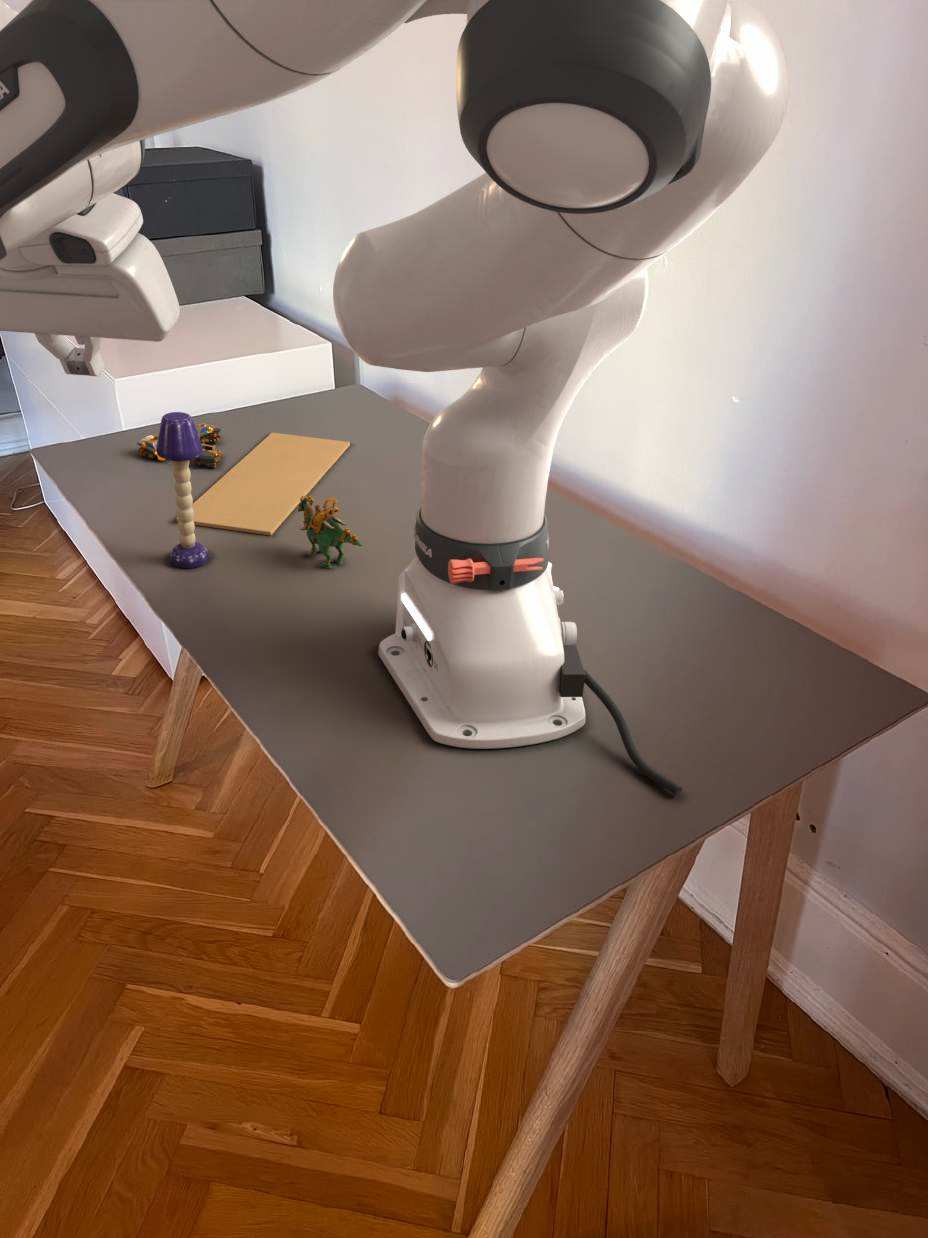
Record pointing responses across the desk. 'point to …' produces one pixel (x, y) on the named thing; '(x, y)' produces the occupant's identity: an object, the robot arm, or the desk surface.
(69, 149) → the robot arm
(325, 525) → the figurine
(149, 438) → the toy set
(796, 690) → the desk surface
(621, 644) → the desk surface
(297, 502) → the wooden board
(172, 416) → the toy lamp
